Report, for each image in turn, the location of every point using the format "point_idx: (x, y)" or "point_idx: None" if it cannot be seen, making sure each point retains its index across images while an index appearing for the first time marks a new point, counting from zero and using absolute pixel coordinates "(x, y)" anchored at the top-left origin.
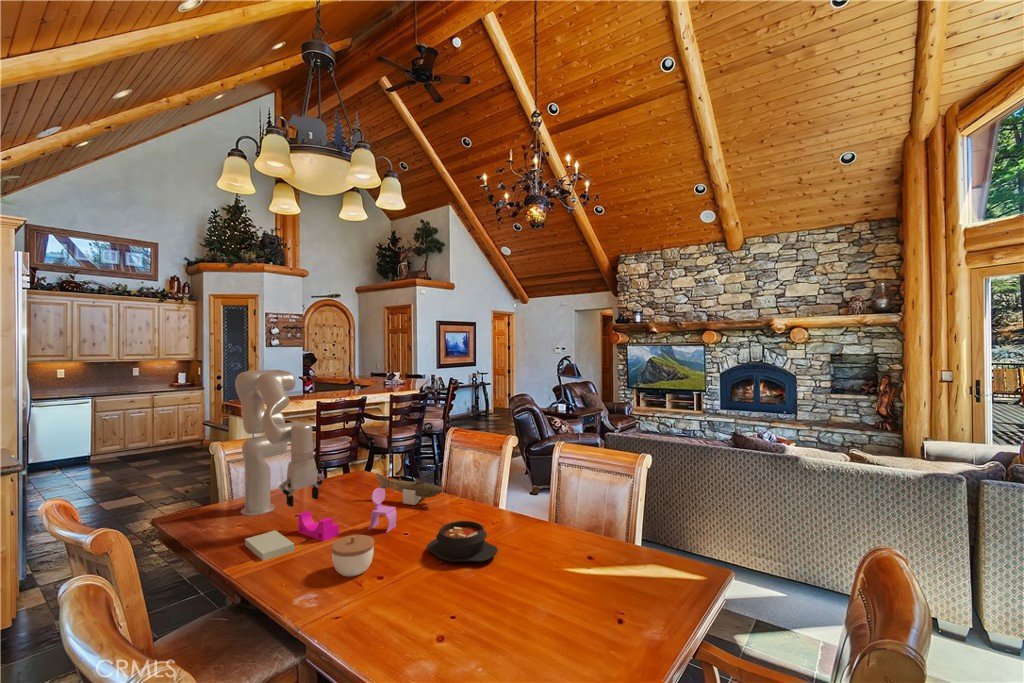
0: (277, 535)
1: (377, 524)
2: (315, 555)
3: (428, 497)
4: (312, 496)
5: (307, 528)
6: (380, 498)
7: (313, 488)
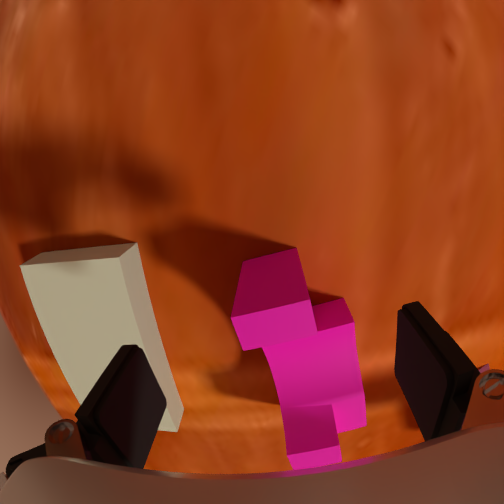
0: (123, 330)
1: (482, 370)
2: (233, 450)
3: None
4: (404, 324)
5: (264, 350)
6: None
7: (449, 400)
